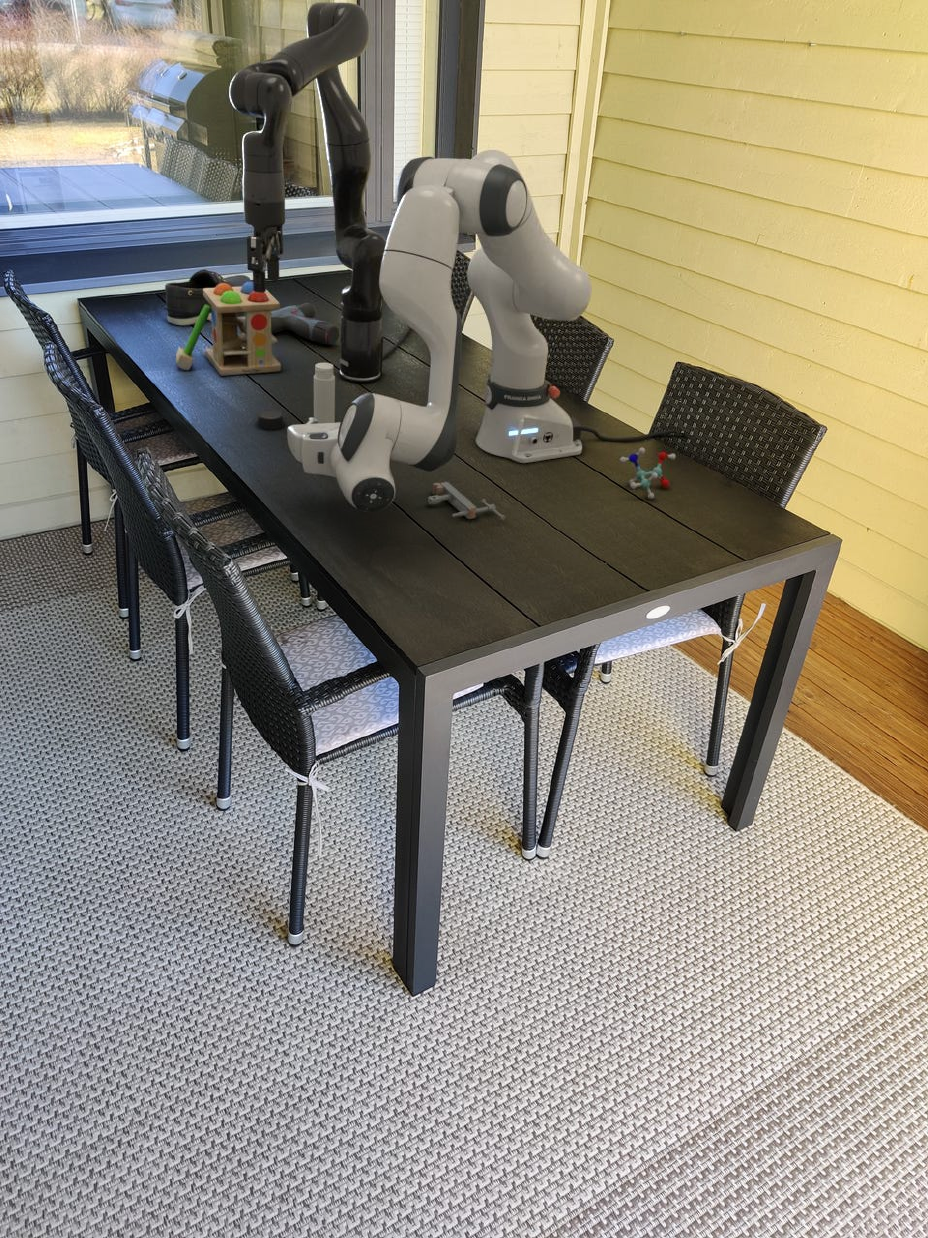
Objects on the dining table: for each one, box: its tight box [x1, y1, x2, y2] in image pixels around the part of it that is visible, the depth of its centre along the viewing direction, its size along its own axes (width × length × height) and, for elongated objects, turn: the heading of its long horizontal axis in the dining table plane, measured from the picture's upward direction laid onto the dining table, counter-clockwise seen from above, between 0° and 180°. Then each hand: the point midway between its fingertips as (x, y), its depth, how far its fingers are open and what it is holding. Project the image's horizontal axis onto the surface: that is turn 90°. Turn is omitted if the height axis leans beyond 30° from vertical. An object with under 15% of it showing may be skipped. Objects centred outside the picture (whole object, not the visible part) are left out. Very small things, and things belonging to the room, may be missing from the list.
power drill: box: [271, 302, 340, 346], centre depth 252 cm, size 5×19×20 cm
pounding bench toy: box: [174, 281, 282, 377], centre depth 225 cm, size 23×14×18 cm, turn 116°
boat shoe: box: [164, 269, 253, 326], centre depth 260 cm, size 13×33×10 cm, turn 147°
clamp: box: [427, 481, 506, 521], centre depth 180 cm, size 15×2×10 cm
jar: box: [313, 362, 336, 424], centre depth 190 cm, size 4×4×18 cm
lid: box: [257, 409, 284, 431], centre depth 204 cm, size 5×5×2 cm
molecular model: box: [619, 447, 676, 500], centre depth 192 cm, size 12×10×10 cm
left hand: (266, 285), depth 188 cm, fingers open, 8 cm apart
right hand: (338, 419), depth 178 cm, fingers open, 8 cm apart
